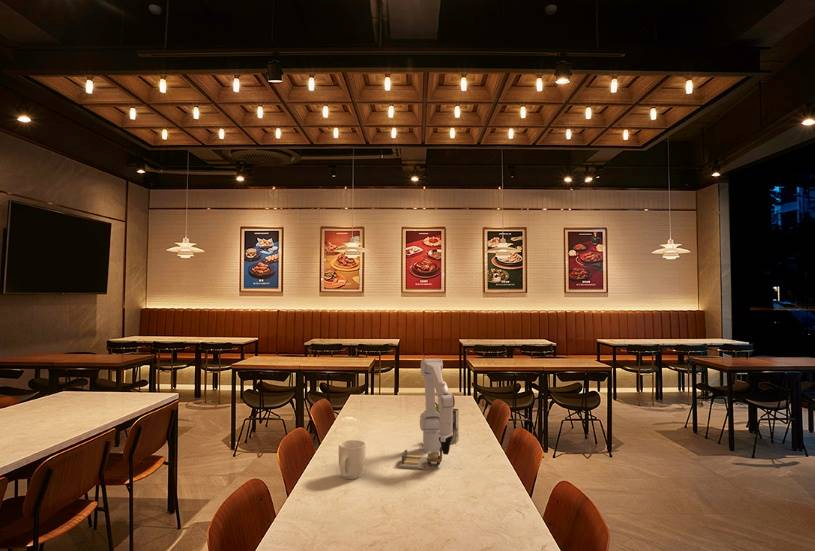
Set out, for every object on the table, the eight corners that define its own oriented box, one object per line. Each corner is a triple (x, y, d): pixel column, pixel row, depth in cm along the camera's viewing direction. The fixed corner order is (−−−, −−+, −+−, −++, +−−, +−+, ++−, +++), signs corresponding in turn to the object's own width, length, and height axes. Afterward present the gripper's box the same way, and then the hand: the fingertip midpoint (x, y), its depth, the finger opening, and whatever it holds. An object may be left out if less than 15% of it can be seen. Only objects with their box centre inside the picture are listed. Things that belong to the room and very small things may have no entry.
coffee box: (458, 440, 233) (459, 408, 234) (456, 443, 227) (456, 411, 228) (442, 438, 236) (442, 407, 237) (438, 441, 230) (439, 409, 231)
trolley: (442, 461, 199) (442, 445, 199) (441, 465, 193) (441, 449, 193) (428, 460, 200) (428, 445, 200) (426, 464, 194) (426, 448, 194)
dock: (436, 459, 203) (436, 449, 203) (433, 471, 189) (434, 460, 190) (404, 457, 205) (404, 447, 206) (399, 468, 192) (399, 458, 192)
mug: (354, 487, 172) (355, 452, 173) (328, 483, 175) (329, 449, 176) (369, 473, 186) (369, 441, 187) (345, 470, 189) (345, 438, 190)
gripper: (440, 417, 205) (440, 447, 204) (433, 425, 191) (433, 458, 190) (455, 418, 203) (455, 449, 202) (449, 427, 189) (449, 460, 188)
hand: (445, 453), depth 196 cm, fingers closed
